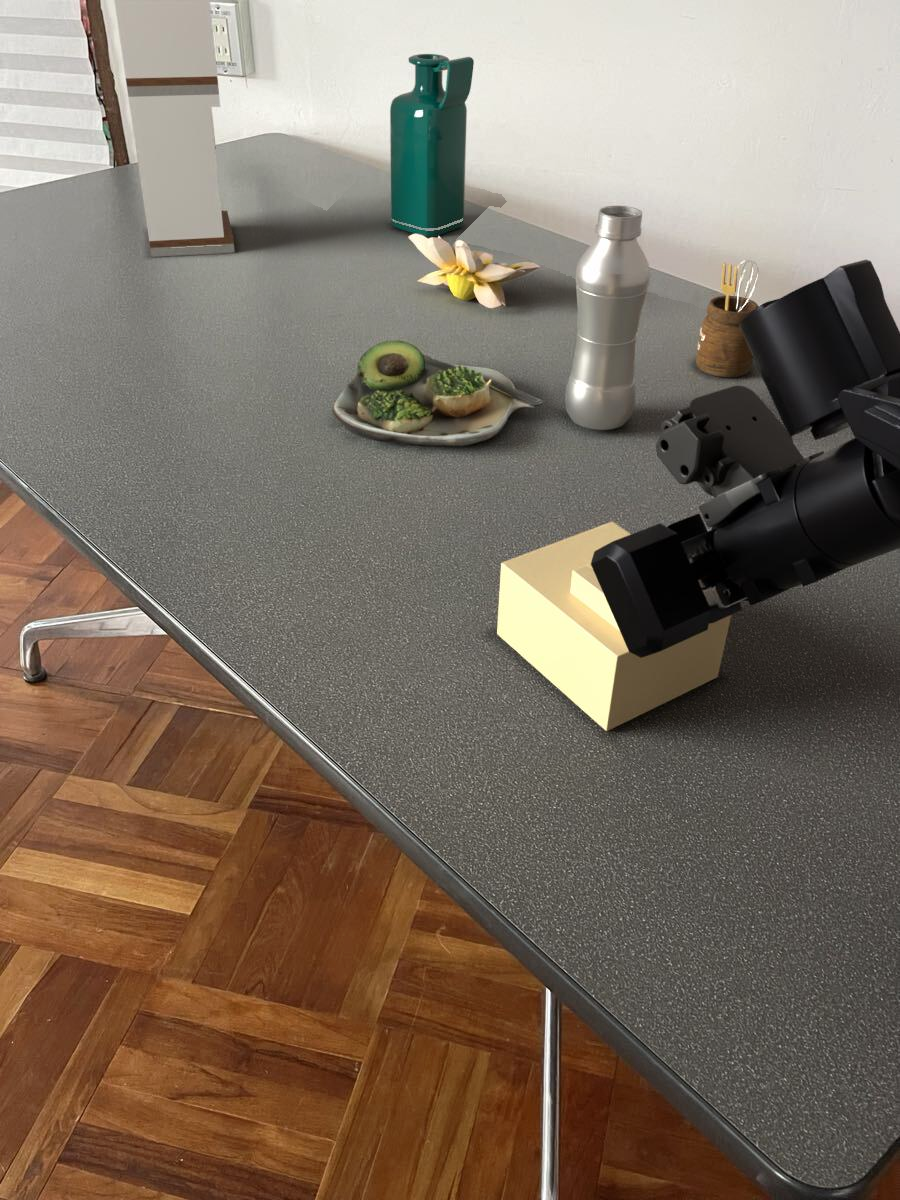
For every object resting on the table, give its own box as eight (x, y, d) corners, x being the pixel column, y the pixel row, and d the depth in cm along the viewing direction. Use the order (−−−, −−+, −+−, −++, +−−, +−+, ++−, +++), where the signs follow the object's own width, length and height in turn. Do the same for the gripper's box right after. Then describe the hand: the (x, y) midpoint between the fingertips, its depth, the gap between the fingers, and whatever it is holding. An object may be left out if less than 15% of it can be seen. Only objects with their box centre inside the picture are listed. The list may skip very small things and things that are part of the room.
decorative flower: (564, 285, 128) (553, 205, 122) (503, 331, 123) (488, 250, 117) (473, 262, 137) (458, 187, 131) (413, 304, 132) (394, 228, 126)
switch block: (718, 677, 73) (739, 582, 68) (606, 731, 69) (620, 633, 64) (603, 590, 81) (615, 499, 76) (496, 634, 77) (502, 540, 72)
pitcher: (385, 226, 151) (382, 53, 138) (424, 213, 156) (425, 45, 143) (437, 242, 146) (440, 64, 133) (476, 228, 151) (482, 55, 138)
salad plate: (555, 384, 110) (558, 342, 107) (521, 466, 96) (524, 420, 93) (375, 362, 114) (374, 320, 111) (317, 438, 100) (314, 392, 97)
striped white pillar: (234, 252, 141) (204, -59, 120) (151, 256, 139) (105, -59, 118) (228, 225, 150) (199, -69, 129) (150, 229, 148) (107, -69, 127)
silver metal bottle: (636, 439, 101) (666, 223, 89) (565, 437, 101) (585, 222, 89) (627, 408, 106) (654, 201, 94) (559, 407, 106) (577, 199, 94)
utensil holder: (759, 365, 115) (781, 253, 108) (736, 385, 111) (758, 270, 104) (707, 351, 118) (726, 242, 111) (684, 370, 114) (702, 258, 107)
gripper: (891, 327, 58) (714, 435, 72) (634, 406, 50) (489, 512, 64) (978, 513, 58) (782, 586, 71) (732, 627, 49) (564, 685, 63)
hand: (660, 587), depth 67 cm, fingers closed, pressing on button, switch block
